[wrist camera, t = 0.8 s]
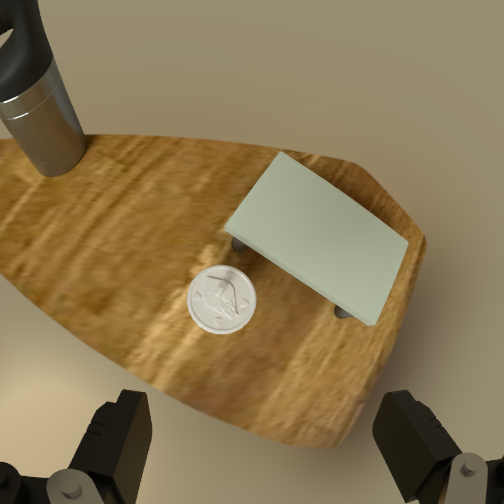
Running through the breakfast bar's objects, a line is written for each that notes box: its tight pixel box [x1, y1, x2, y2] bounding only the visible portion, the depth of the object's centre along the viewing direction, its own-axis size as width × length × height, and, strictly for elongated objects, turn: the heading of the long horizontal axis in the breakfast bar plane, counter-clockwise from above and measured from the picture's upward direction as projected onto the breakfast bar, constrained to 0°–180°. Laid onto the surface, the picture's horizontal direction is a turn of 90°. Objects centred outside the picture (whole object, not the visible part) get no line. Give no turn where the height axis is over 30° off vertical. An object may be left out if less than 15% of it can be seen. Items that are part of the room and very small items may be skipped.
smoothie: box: [187, 265, 256, 334], centre depth 30 cm, size 6×6×14 cm
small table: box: [224, 151, 409, 326], centre depth 38 cm, size 20×12×7 cm, turn 58°
